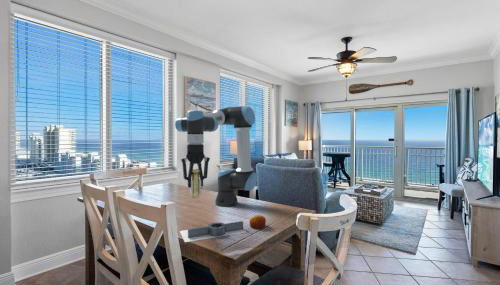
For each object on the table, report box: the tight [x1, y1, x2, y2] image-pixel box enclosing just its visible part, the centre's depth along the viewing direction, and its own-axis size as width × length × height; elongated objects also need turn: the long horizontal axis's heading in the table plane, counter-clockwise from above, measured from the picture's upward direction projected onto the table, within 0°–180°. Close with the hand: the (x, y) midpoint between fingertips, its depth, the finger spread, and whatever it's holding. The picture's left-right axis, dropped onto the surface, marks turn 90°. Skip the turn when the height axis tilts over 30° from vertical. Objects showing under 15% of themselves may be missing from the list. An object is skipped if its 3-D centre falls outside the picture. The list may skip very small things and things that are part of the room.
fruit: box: [249, 214, 267, 230], centre depth 125 cm, size 8×8×8 cm
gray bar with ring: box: [187, 221, 244, 238], centre depth 116 cm, size 8×26×4 cm, turn 115°
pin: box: [191, 168, 200, 199], centre depth 120 cm, size 4×4×13 cm
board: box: [179, 229, 247, 243], centre depth 118 cm, size 14×28×1 cm, turn 115°
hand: (195, 193), depth 120 cm, fingers closed on pin, 3 cm apart
